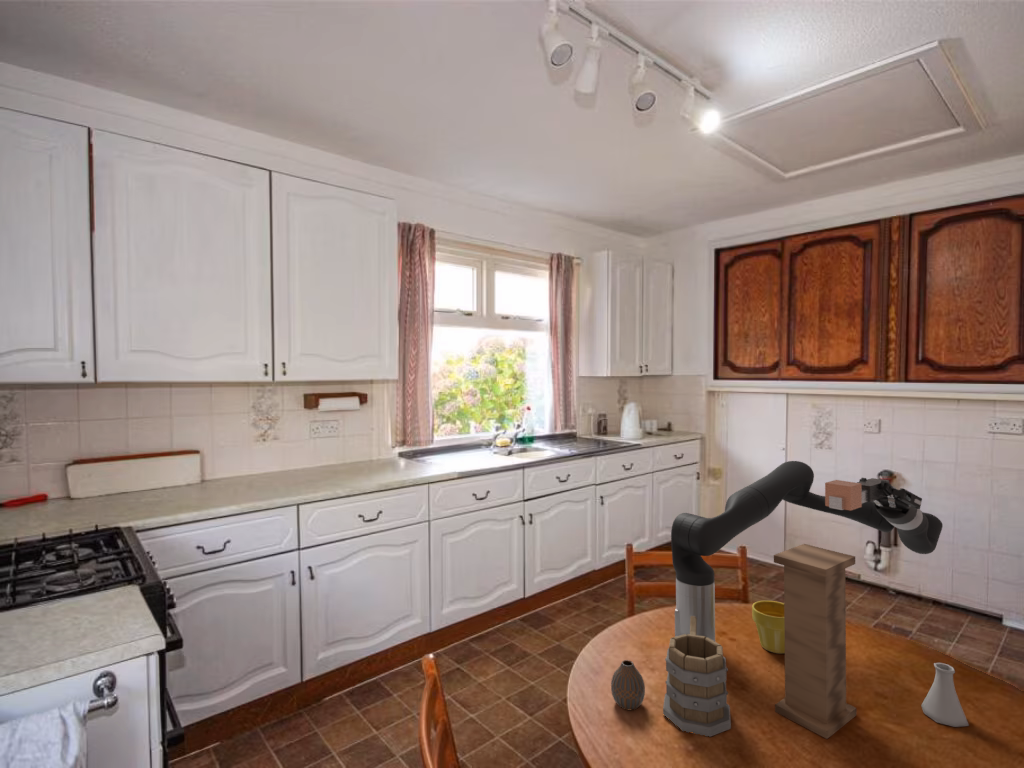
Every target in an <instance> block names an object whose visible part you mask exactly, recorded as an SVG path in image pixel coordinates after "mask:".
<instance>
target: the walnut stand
mask: <svg viewBox="0 0 1024 768" xmlns="http://www.w3.org/2000/svg"><path fill="white" fill-rule="evenodd" d="M773 563H774V564H778V565H781V566H783V590H784V591H783V592H784V593H783V596H784V597H783V599H784V601H783V603H784V627H785V653H784V695H785V696H784V698H782V699H781V700H779V701H778V702H777V703H775V704H774V712H775V713H777V714H779V715H780V716H781V717H784V718H786V719H788V720H790V721H792V722H794V723H796V724H798V725H799V726H802V727H803V728H805V729H806V730H809V731H810V732H813V733H815V734H816V735H818V736H820V737H822V738H824V739H826V740H828V739H829V738H830V737H832V736H833V735H834V734H836V733H837V732H838V731H839V730H840V729H842V727H844V726H845V725H847V723H849V722H850V721H851V720H852V719H854V718H855V717H856V716H857V707H855V706H854V705H851V704H850V703H847V648H846V647H847V644H846V643H847V639H846V637H847V636H846V635H847V633H846V631H847V630H846V629H847V628H846V627H847V625H846V621H847V620H846V619H847V618H846V615H847V613H846V612H847V611H846V608H847V607H846V606H847V605H846V602H847V601H846V569H848V568H850V567H852V566H854V565H856V556H854V555H851V554H847V553H843V552H840V551H835V550H830V549H827V548H823V547H819V546H814V545H810V544H806V543H803V544H799V545H797V546H794V547H792V548H789V549H785V550H783V551H782V552H778V553H775V554H773Z"/></svg>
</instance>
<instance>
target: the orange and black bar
mask: <svg viewBox="0 0 1024 768" xmlns="http://www.w3.org/2000/svg"><path fill="white" fill-rule="evenodd" d="M881 480H884V481H886V482H887V483H889V484H890V480H888V479H880V478H874V477H872V478H869V479H867V480H864V481H860V482H859V481H858V482H853V481H848V480H847V481H846V480H840V479H834V480H831V481H827V482H824V484H825V486H824V489H825V490H824V496H825V506H829V508H833V509H838V510H844V509H845V510H850V511H851V510H854V509H857V508H860V507H862V503H865V502H872V501H875V500H878V499H881V498H884V497H887V496H888V495H886V494H885V493H884V492H883V491H882V490H881V489H880V485H881Z"/></svg>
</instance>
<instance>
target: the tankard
mask: <svg viewBox="0 0 1024 768" xmlns="http://www.w3.org/2000/svg"><path fill="white" fill-rule="evenodd" d="M668 645H669V646H668V648H667V651H666V657H665V658H664V661H665V668H666V669H665V671H666V672H667V675H666V676H667V677H666V680H665V685H666V693H664V698H663V705H662V706H663V707H662V714H664V715H665V716H666V717H667V718H669V719H670V720H671V721H672V722H673V723H674V724H675V725H674V724H673V723H672V722H671V721H670V720H669V719H668V720H669V721H670V722H671V723H672V724H673V725H674V726H676V725H677V726H678V727H679V728H680V729H681V730H682V732H684V731H686V732H685V733H689V732H693V733H692V734H694V733H695V735H698V734H700V736H703V735H705V736H704V737H708V736H709V738H710V737H713V736H716V735H718V734H720V733H723V732H725V731H728V730H731V729H732V725H731V724H732V721H731V707H730V706H731V705H729V704H728V703H727V702H728V701H727V700H728V699H727V698H728V697H727V696H728V695H729V692H728V691H727V672H728V671H729V669H728V667H727V661H726V660H727V658H726V657H725V656H724V651H723V650H724V649H723V646H722V644H720V643H718V642H717V641H716V640H715V641H713V640H711V639H710V638H708V637H707V638H706V637H705V636H699V635H697V618H696V617H695V616H691V617H690V634H687V635H686V634H683V635H680V636H676V637H675V636H673V637H671V638H670V639H669V644H668ZM664 715H663V716H664ZM665 716H664V717H665ZM666 717H665V718H666ZM667 718H666V719H667ZM677 726H676V727H677ZM678 727H677V728H678ZM679 728H678V729H679ZM680 729H679V730H680Z"/></svg>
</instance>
